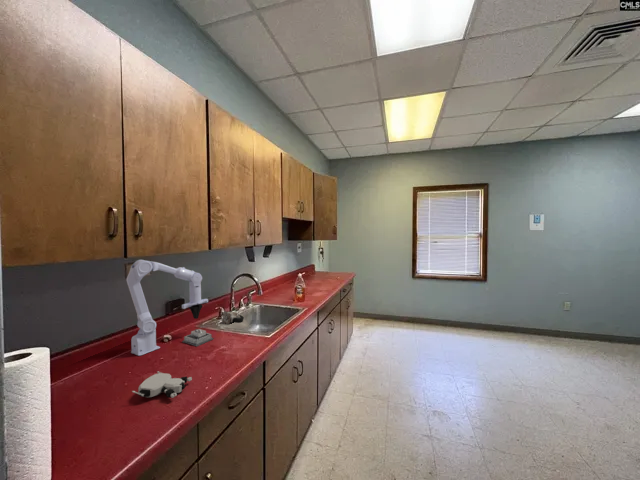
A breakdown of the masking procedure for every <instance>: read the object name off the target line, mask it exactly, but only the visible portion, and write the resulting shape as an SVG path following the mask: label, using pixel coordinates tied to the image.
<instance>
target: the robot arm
mask: <svg viewBox="0 0 640 480" xmlns="http://www.w3.org/2000/svg"><path fill="white" fill-rule="evenodd" d="M156 271H161V272H164V273H167V274H171V275H174V278H176V279H179V280H183V281H186V282H187V281H188V282H189V283H188V284H189V287H188V288H189V289H188V290H189V291H188V292H189V301H188V302H186V303H183V304H181V309H182V310H183V309H184V310H185V309H187V308H188V309H189V310H190V312H191V314H192V316H193V319H194V320H195V319H199V316H200V312H201V310H202V309H203V304H206V303H209V299H208V298H202V285H201V284H202V283H201V282H202V281H203V276H202V274H201V273H200V272H196V271H194V270H193V269H191V270H190V269H188V268H186V267H185V266H182V267H180V266H178V267H176V268H175V267H172V266H169V265H166V264H163V263H161V262H157V261H152V260H151V261H150V260H146V259H145V260H144V259H138V260H135V262H133V264H131V265H130V269H129V272H128V275H127V277H126V284H127V287H128V291H129V293H130V296H131V299H132V302H133V305H134V308H135V312H136V314H137V315H136V318H137V322H136V323H137V324H136V325H137V327H138V328H139V329H138V331H137V333H136V334H135V335H133V336H132V337H131V341H130V342H131V345H130V346H131V351H130V353H131V354H134V355H136V356H139V357H140V356H143V355H145V354H148V353H150V352H151V353H152V352H153V351H156V350H159V349H160V348H161V346H159V345H157V330H156V329H157V321H155V320H154V319H153V317H152V314H151V313H150V310H149V307H148V304H147V301H146V297H145V294H144V292H143V288H142V285H141V280H142V279H143V278H144V277H146V275H148V274H149V273H151V272H156Z"/></svg>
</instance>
